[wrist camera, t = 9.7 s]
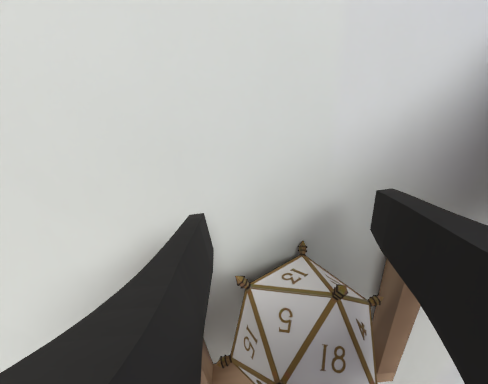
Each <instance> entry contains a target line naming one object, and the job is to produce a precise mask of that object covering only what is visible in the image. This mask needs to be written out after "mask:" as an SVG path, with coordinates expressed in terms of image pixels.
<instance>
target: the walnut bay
mask: <svg viewBox="0 0 488 384" xmlns="http://www.w3.org/2000/svg"><path fill="white" fill-rule="evenodd" d="M378 296H380V297H383V299H382V301H381V305H377V306H376V308H375V312H374V316H373V321H372V329H373V341H374V352H375V363H376V375H377V382H386V381H393V378H394V376H395V373H396V370H397V367H398V365H399V362H400V359H401V357H402V354H403V351H404V349H405V346H406V343H407V341H408V338H409V335H410V333H411V330H412V327H413V325H414V322H415V319H416V316H417V314H418V311H419V308H420V306H421V305H420V304H419V302H418V301H417V299H416V298H415V296H414V295H413V294H412V292H411V291H410V290H409V288H408V287H407V285H406V284H405V283H404V281H403V280H402V279H401V277H400V276H399V274H398V273H397V272H396V270H395V269H394V268H393V266H392V265H391V263H390V262H389V261H388V259H386V264H385V268H384V272H383V277H382V281H381V286H380V290H379V294H378ZM201 384H253V383H252V382H251V381H250V380H249V379H248V378H247V377H246V376H245V375H244V374H243V373H242V372H241V371H240V370H239V369H238V368H237V367H236V366H235V365H234V364H233V363H230V364H229V365H228V366H225V367H224V368H222V367H219V366H216V364H213V362H212V360H211V357H210V354H209V352H208V349H207V347H206V344H205V341H204V339H203V348H202V365H201Z"/></svg>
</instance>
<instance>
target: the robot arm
mask: <svg viewBox="0 0 488 384" xmlns="http://www.w3.org/2000/svg"><path fill="white" fill-rule="evenodd" d="M370 230H371V232H372V234H373V236H374V238H375V240H376V242H377V244H378V245H379V247H380V249H381V251H382V252H383V254H384V255H385V256H386V258H387V259H388V261H389V262H390V263H391V265H392V266H393V268H394V269H395V270H396V272H397V273H398V274H399V276H400V277H401V279H402V280H403V281H404V283H405V284H406V285H407V287H408V288H409V290H410V291H411V292H412V294H413V295H414V296H415V298H416V299H417V301H418V302H419V304H420V305H421V307H422V308H423V310H424V311H425V313H426V315H427V316H428V318H429V320H430V321H431V323H432V325H433V326H434V328H435V330H436V332H437V333H438V335H439V337H440V338H441V340H442V342H443V344H444V346H445V348H446V349H447V351H448V353H449V355H450V357H451V358H452V360H453V362H454V364H455V366H456V367H457V369H458V371H459V373H460V375H461V377H462V379H463V381H464V383H465V384H488V226H487V225H484V224H481V223H479V222H476V221H473V220H471V219H468V218H465V217H463V216H460V215H457V214H455V213H452V212H450V211H447V210H445V209H442V208H440V207H437V206H435V205H433V204H430V203H428V202H425V201H423V200H421V199H418V198H416V197H413V196H411V195H408V194H406V193H403V192H400V191H398V190H395V189H385V190H377V191H376V197H375V204H374V210H373V216H372V223H371V229H370ZM212 273H213V246H212V242H211V238H210V235H209V231H208V227H207V223H206V220H205V216H204V213H201V214H193V215H189V216H188V218H187V219H186V220H185V221H184V222H183V224H182V225H181V226H180V227H179V229H178V230H177V231H176V232H175V234H174V235H173V236H172V237H171V238H170V240H169V241H168V242H167V243H166V244H165V245H164V247H163V248H162V249H161V250H160V251H159V252H158V253H157V254H156V255H155V256H154V257H153V259H152V260H151V261H150V262H149V263H148V264H147V265H146V266H145V267H144V268H143V269H142V270H141V271H140V272H139V273H138V274H137V275H136V276H135V277H134V278H133V279H131V280H130V281H129V282H128V283H127V284H126V285H125V286H124V287H123V288H121V289H120V290H119V291H118V292H117V293H115V294H114V295H113V296H112V297H110V298H109V299H108V300H107V301H106V302H104V303H103V304H102V305H101V306H99V307H98V308H97V309H96V310H94V311H93V312H92V313H90V314H89V315H88V316H86V317H85V318H84V319H82V320H81V321H79V322H78V323H77V324H75V325H74V326H73V327H71V328H70V329H68V330H67V331H65V332H64V333H62V334H61V335H60V336H58V337H57V338H55V339H54V340H52V341H51V342H49V343H48V344H46V345H45V346H43V347H41V348H40V349H38V350H37V351H35V352H33V353H32V354H30V355H29V356H27V357H25V358H24V359H22V360H21V361H19V362H18V363H16V364H14V365H13V366H11V367H10V368H8V369H6V370H5V371H3V372H1V373H0V384H201V365H202V348H203V333H204V324H205V317H206V311H207V305H208V299H209V292H210V286H211V279H212Z"/></svg>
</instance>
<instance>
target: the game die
mask: <svg viewBox="0 0 488 384" xmlns="http://www.w3.org/2000/svg"><path fill="white" fill-rule="evenodd" d="M298 247H299V250H298V251H299V253H300V255H299V256H298V257H296V258H294V259H292V260H290V261H289V262H287V263H285V264H283V265H281V266H280V267H278V268H276V269H274V270H273V271H271V272H269V273H267V274H265V275H264V276H262V277H260V278H258V279H257V280H255V281H253V282H251V283H249V282H248V279H246V278H245V276H235V277H236V280H237V285H238V286H241V288H245V293H244V298H243V302H242V307H241V311H240V316H239V320H238V324H237V329H236V333H235V338H234V342H233V347H232V351H231V355H230V356H226V355H225V356H224V357H222V356H220V359H219V361H218V362H217V364H216V366H219V367H222V368H224V367H225V366H228V365H229V364H230V363H233V364H234V365H235V366H236V367H237V368H238V369H239V370H240V371H241V372H242V373H243V374H244V375H245V376H246V377H247V378H248V379H249V380H250V381H251V382H252V383H253V384H377V375H376V363H375V352H374V341H373V329H372V318H371V306H375V307H376V306H377V305H381V301H382V299H383V297H380V296H377V295H373V297H370V299H368V300H366V299H365V298H364V297H362V296H361V295H359V294H358V293H357V292H355V291H354V290H352V289H351V288H350V287H348V286H347V285H346V284H344V283H343V282H341V281H340V280H339V279H337V278H336V277H334V276H333V275H332V274H330V273H329V272H328V271H326V270H325V269H323V268H322V267H321V266H319V265H318V264H316V263H315V262H314V261H312V260H311V259H309V258H308V257H307V256H306V255H305V253H306V252H307V250H306V248H307V246H306V245H305V243H304V241H302V243H301V244H300V246H298Z"/></svg>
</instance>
